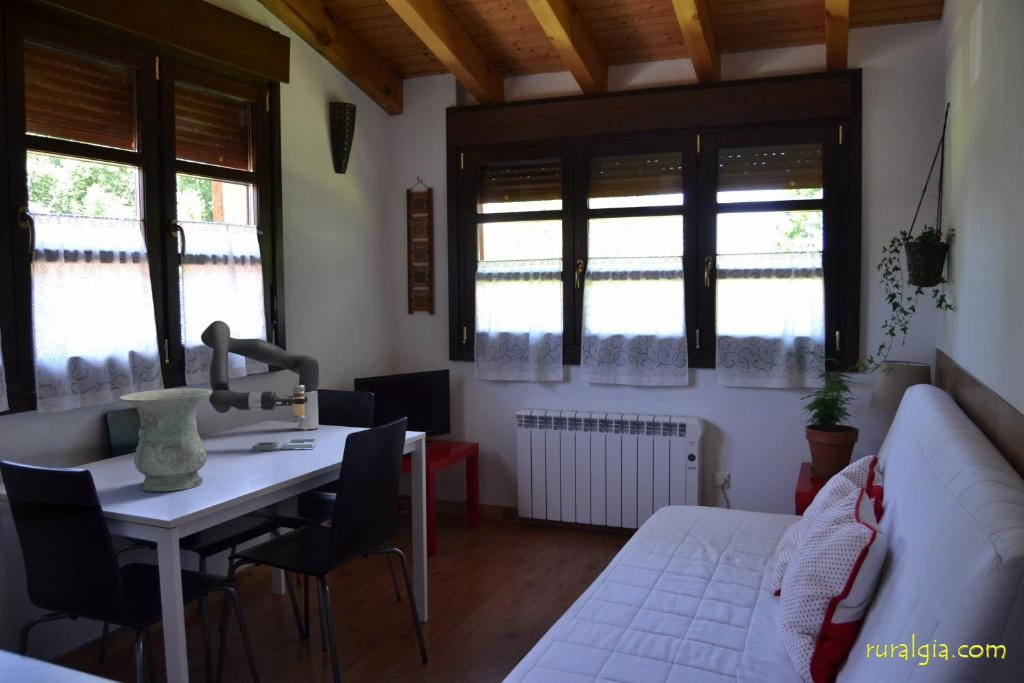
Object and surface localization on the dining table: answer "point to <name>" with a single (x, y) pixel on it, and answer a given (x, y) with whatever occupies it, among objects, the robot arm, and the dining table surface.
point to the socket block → (265, 446)
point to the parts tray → (292, 446)
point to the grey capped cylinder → (299, 408)
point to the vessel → (169, 438)
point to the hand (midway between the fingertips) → (305, 400)
